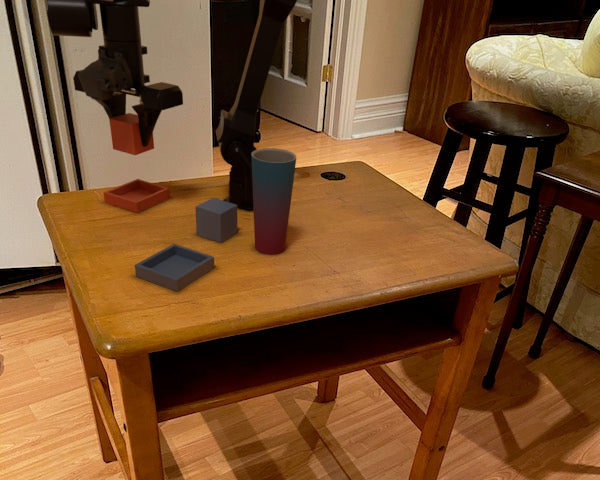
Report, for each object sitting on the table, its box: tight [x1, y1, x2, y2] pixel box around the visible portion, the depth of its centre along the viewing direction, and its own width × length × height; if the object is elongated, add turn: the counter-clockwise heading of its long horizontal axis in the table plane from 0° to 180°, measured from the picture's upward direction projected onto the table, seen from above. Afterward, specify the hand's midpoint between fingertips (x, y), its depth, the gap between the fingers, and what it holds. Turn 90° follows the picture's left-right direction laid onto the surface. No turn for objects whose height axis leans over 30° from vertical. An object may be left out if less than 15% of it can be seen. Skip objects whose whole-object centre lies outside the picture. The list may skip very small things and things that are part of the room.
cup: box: [251, 147, 297, 255], centre depth 93 cm, size 7×7×15 cm
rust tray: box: [103, 178, 171, 214], centre depth 108 cm, size 9×8×2 cm
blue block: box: [195, 197, 238, 244], centre depth 99 cm, size 5×5×5 cm
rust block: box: [108, 112, 155, 156], centre depth 101 cm, size 5×5×5 cm
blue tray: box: [134, 243, 215, 293], centre depth 88 cm, size 9×8×2 cm
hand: (133, 142), depth 102 cm, fingers closed on rust block, 5 cm apart
